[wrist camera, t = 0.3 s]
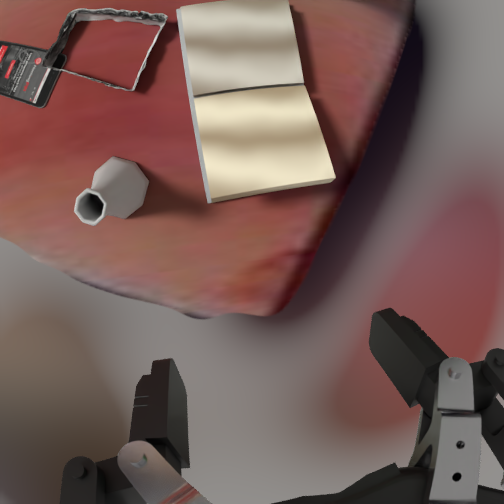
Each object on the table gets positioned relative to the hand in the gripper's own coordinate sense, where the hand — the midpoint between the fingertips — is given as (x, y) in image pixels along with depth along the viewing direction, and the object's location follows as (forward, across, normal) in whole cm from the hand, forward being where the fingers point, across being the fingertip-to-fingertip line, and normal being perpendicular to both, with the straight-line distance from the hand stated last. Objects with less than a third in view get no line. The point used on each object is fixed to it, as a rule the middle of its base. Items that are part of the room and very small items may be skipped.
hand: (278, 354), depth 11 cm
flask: (+26, +12, -4) cm, 29 cm away
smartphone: (+27, +24, -24) cm, 43 cm away
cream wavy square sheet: (+22, -5, -7) cm, 23 cm away
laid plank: (+25, -4, -18) cm, 31 cm away
